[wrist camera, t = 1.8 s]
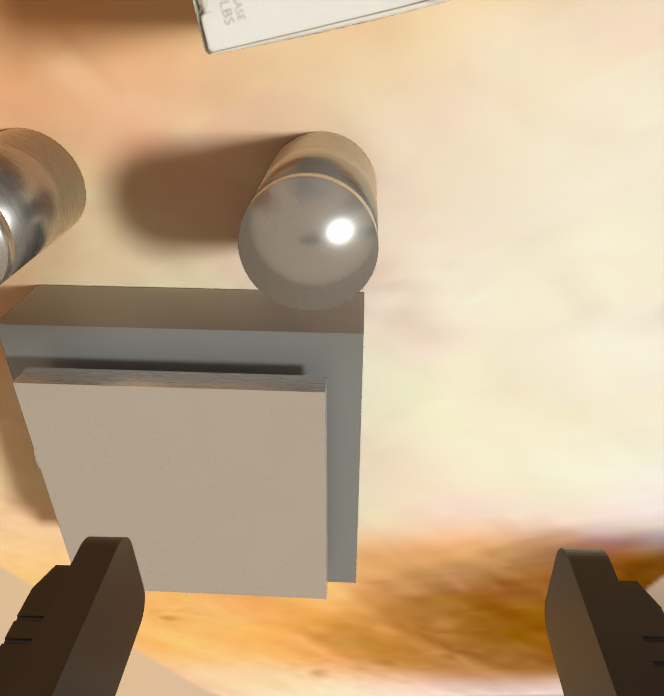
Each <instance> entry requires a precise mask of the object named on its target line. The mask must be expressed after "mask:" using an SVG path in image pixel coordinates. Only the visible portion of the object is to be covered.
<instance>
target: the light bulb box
mask: <svg viewBox="0 0 664 696" xmlns="http://www.w3.org/2000/svg"><path fill="white" fill-rule="evenodd" d="M446 1H450V0H193V4H194V8H195V12H196V17H197V20H198V24H199V28H200V32H201V36H202V40H203V44H204V48H205V51H206V52H207V53H208V54H217V53H222V52H228V51H233V50H239V49H244V48H249V47H254V46H259V45H264V44H270V43H274V42H278V41H283V40H289V39H293V38H297V37H303V36H308V35H312V34H316V33H322V32H326V31H330V30H334V29H339V28H344V27H348V26H351V25H356V24H360V23H365V22H368V21H372V20H376V19H381V18H384V17H389V16H393V15H397V14H401V13H405V12H409V11H412V10H416V9H420V8H424V7H428V6H432V5H435V4H439V3H443V2H446Z"/></svg>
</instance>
